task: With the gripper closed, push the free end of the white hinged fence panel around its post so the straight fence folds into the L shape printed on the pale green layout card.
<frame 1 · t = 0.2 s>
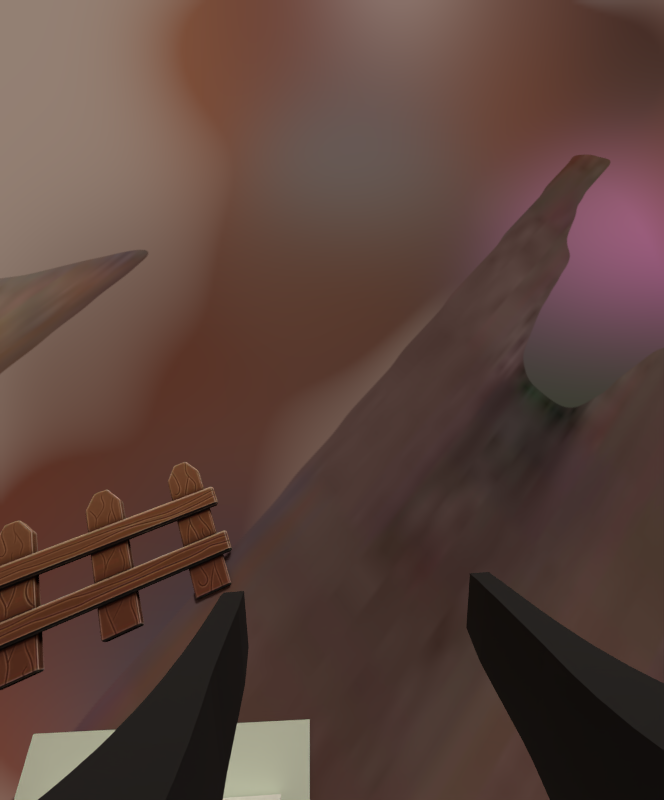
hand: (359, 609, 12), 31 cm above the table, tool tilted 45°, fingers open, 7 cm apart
decorative fence: (115, 558, 41), on the table
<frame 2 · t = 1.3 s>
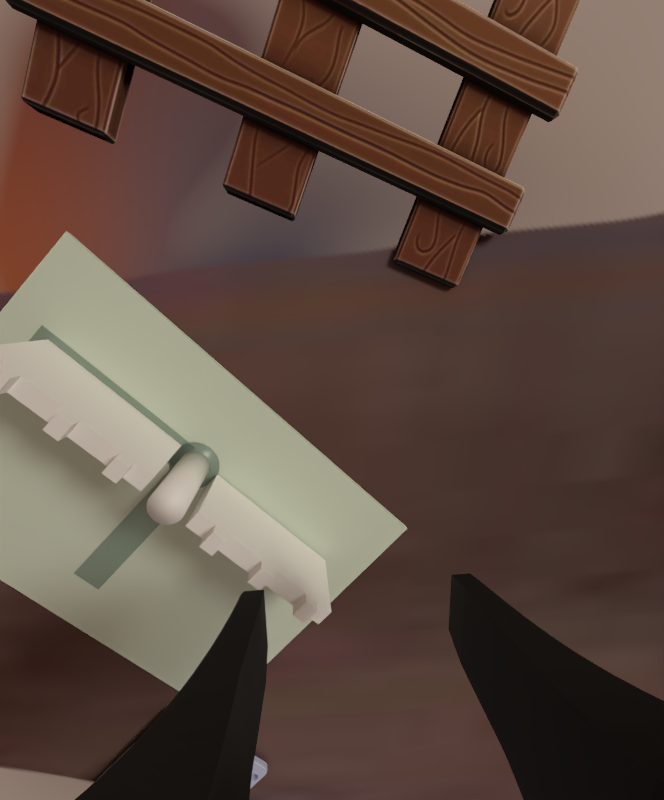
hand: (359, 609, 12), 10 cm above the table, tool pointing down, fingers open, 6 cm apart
layout card: (153, 508, 21), on the table
decorative fence: (314, 47, 18), on the table
fence post and fixed panel: (195, 463, 21), resting on layout card
folding fence panel: (264, 549, 19), point 3 cm above the table, hinge at 0.0°
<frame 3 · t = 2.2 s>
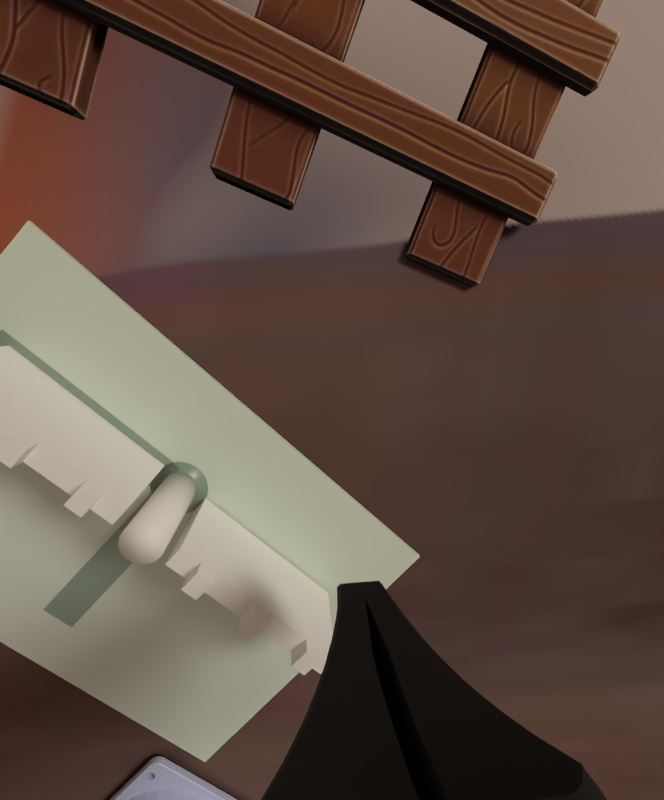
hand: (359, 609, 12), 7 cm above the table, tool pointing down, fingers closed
layout card: (133, 536, 19), on the table
decorative fence: (316, 9, 16), on the table
fence post and fixed panel: (180, 486, 18), resting on layout card
folding fence panel: (258, 585, 17), point 3 cm above the table, hinge at 0.0°
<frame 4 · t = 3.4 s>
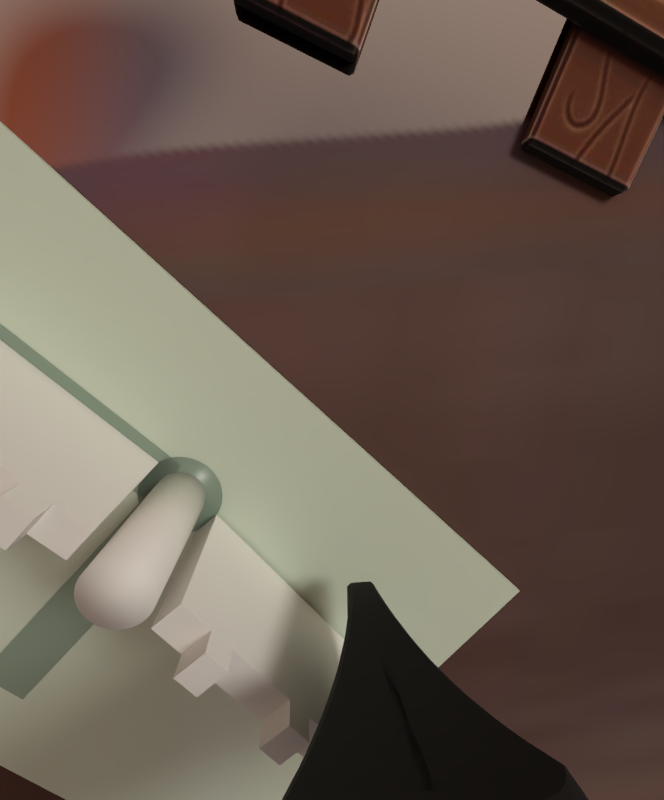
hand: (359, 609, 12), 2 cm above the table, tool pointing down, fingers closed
layout card: (113, 567, 13), on the table
fence post and fixed panel: (182, 492, 13), resting on layout card
folding fence panel: (286, 659, 11), point 3 cm above the table, hinge at 7.1°, touching gripper
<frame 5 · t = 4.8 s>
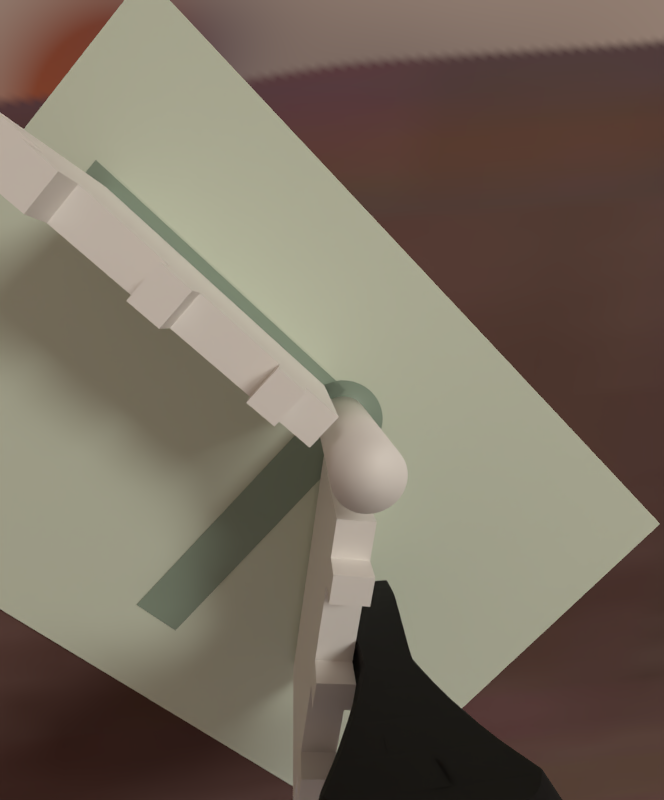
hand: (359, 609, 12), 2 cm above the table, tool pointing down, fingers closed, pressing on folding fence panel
layout card: (269, 495, 13), on the table
fence post and fixed panel: (341, 419, 13), resting on layout card
folding fence panel: (326, 619, 11), point 3 cm above the table, hinge at 55.0°, touching gripper
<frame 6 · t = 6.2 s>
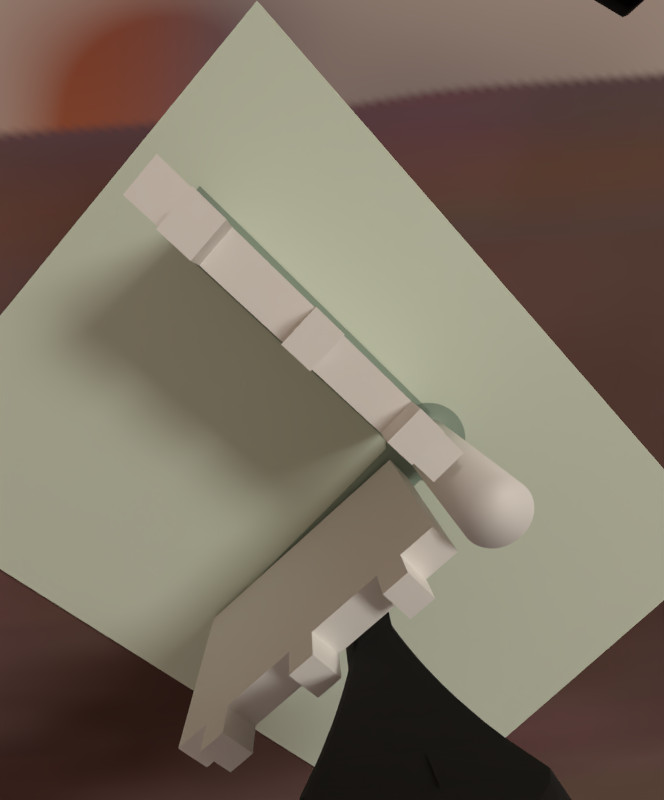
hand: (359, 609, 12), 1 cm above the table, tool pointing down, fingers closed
layout card: (349, 514, 13), on the table
fence post and fixed panel: (423, 440, 13), resting on layout card
folding fence panel: (311, 599, 11), point 3 cm above the table, hinge at 93.2°, touching gripper
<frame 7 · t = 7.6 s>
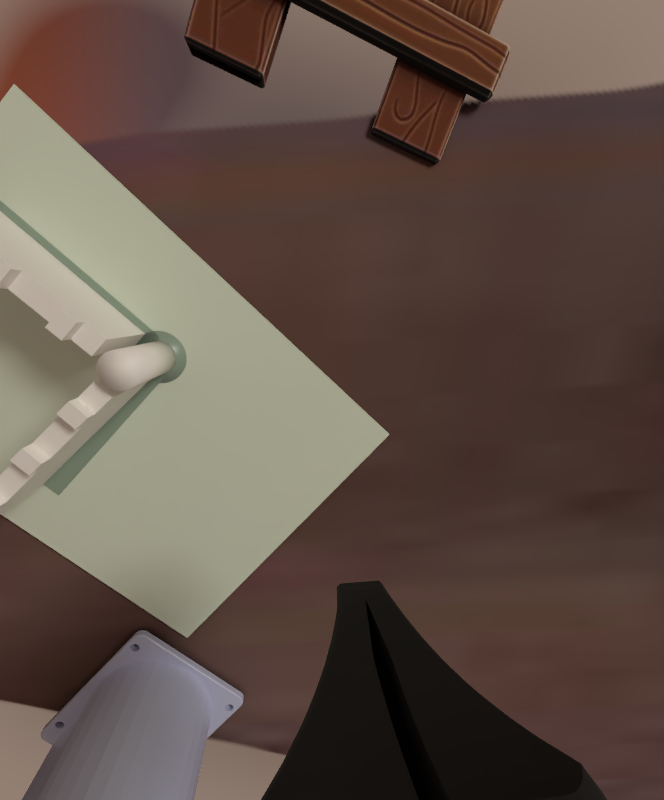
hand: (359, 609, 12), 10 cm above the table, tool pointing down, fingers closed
layout card: (116, 406, 20), on the table
fence post and fixed panel: (161, 356, 20), resting on layout card
folding fence panel: (60, 443, 17), point 3 cm above the table, hinge at 93.5°
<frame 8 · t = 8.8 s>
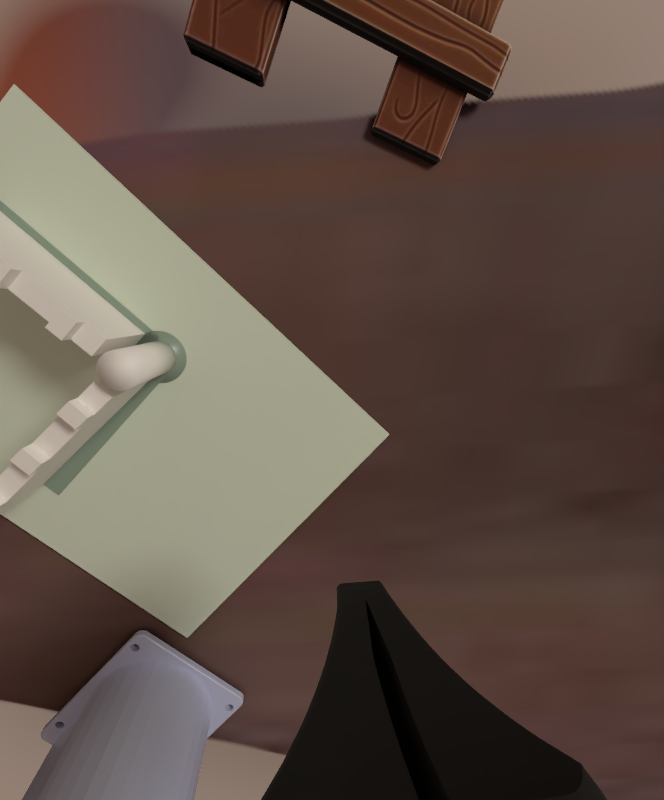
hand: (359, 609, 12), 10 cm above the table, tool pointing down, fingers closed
layout card: (116, 406, 20), on the table
fence post and fixed panel: (161, 356, 20), resting on layout card
folding fence panel: (60, 443, 17), point 3 cm above the table, hinge at 93.5°
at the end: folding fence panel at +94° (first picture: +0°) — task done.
